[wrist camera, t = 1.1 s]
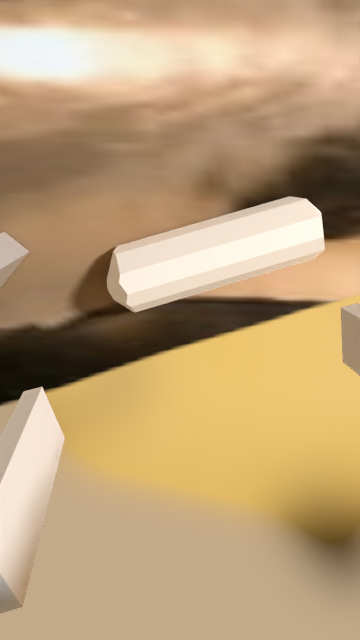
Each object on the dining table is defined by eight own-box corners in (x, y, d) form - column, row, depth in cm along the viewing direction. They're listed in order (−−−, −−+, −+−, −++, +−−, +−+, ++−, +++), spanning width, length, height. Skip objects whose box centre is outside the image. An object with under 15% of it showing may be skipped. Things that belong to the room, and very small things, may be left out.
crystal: (123, 339, 37) (332, 277, 38) (102, 296, 31) (347, 224, 32) (115, 291, 42) (301, 237, 43) (94, 246, 36) (309, 184, 37)
